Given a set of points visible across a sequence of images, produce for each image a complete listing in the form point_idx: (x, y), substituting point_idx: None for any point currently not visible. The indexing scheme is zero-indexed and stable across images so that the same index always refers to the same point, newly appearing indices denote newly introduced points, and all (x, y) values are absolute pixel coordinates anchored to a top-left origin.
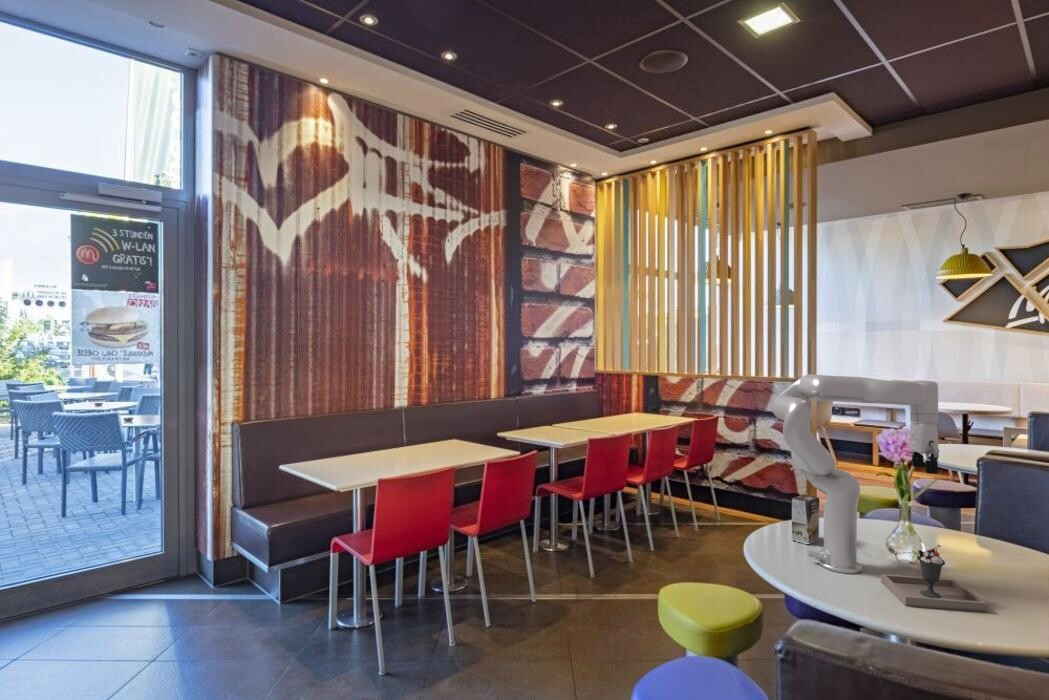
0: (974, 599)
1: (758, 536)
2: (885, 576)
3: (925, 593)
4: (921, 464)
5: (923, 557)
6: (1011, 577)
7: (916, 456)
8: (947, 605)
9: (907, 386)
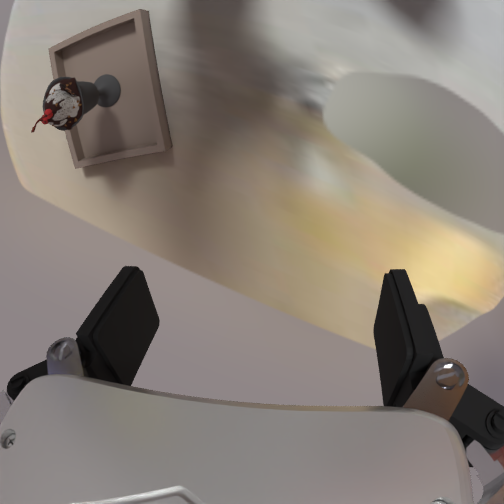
0: (95, 156)
1: None
2: (128, 16)
3: (99, 82)
4: (378, 334)
5: (53, 89)
6: (274, 273)
7: (398, 366)
8: None
9: None
